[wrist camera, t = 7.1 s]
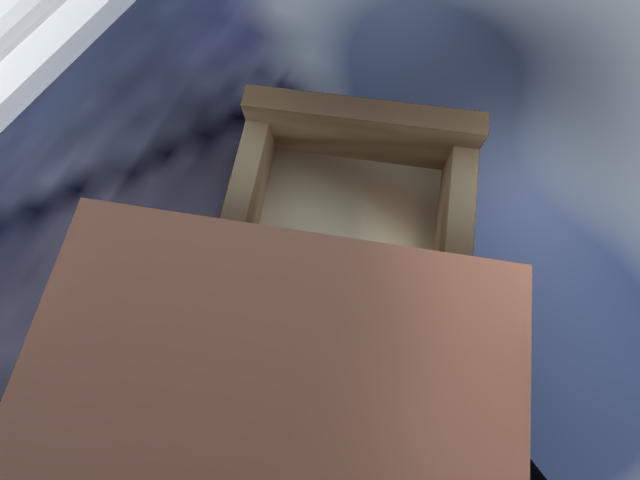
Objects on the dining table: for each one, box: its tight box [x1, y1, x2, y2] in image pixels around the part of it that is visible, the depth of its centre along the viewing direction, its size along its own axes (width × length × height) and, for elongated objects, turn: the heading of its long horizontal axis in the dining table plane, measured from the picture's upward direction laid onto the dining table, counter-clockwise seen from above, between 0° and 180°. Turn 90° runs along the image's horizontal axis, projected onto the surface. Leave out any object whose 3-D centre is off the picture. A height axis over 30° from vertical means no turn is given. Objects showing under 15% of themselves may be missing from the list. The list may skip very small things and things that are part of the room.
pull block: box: [0, 198, 532, 480], centre depth 8 cm, size 4×4×11 cm
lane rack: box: [220, 84, 490, 256], centre depth 15 cm, size 19×10×4 cm, turn 170°
